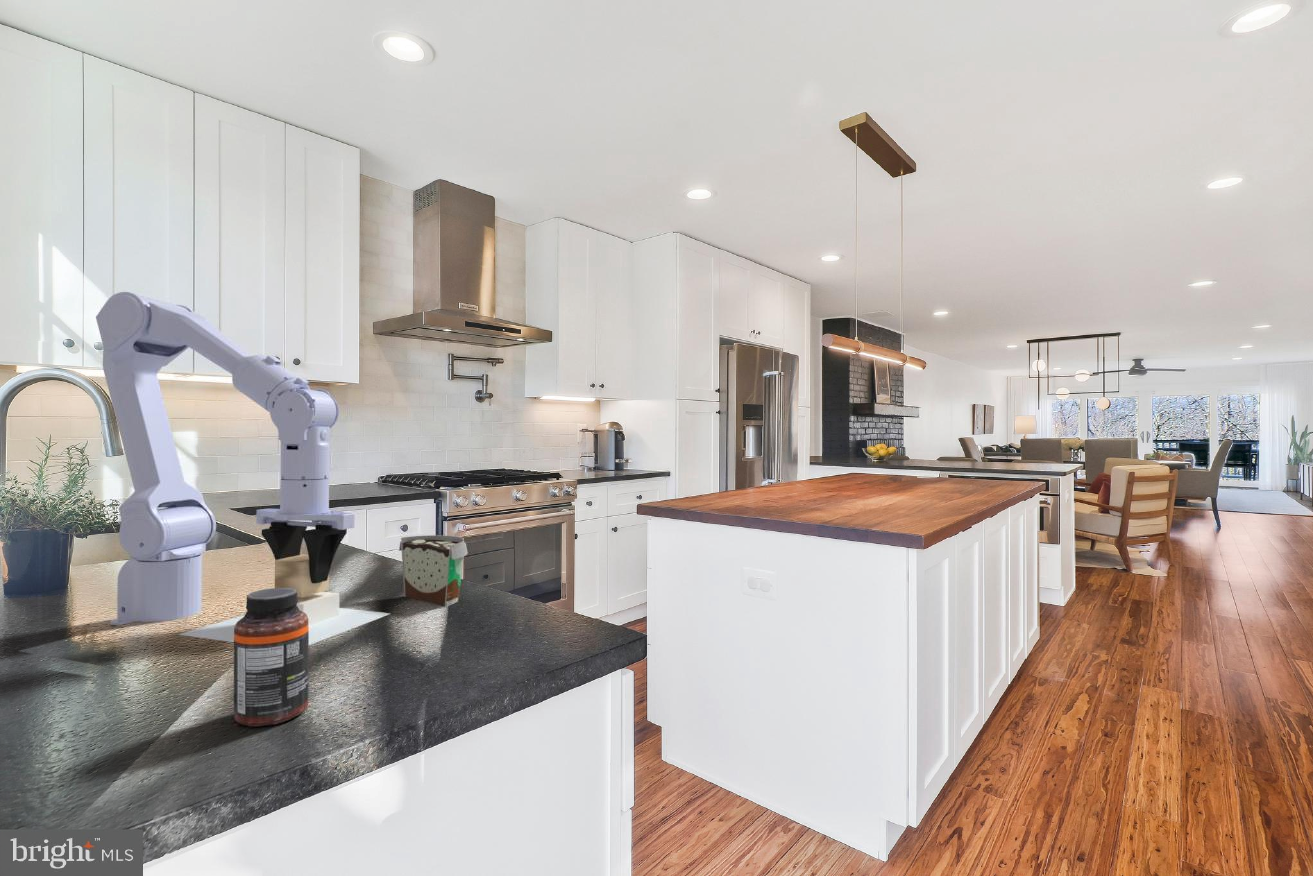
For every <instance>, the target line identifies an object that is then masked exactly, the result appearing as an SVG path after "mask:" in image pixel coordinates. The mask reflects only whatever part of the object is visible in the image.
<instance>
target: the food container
mask: <svg viewBox="0 0 1313 876" xmlns="http://www.w3.org/2000/svg"><path fill="white" fill-rule="evenodd" d="M398 551H401V561H402V564H401V565H402V579H403V581H402V582H403V596H404V598H408V599H413V600H418V601H423V602H426V603H431V604H434V605H439V606H444V607H448V606H452V605H454V604H455V603H458V601H459V600H460V593H461V591H460V590H461V582H462V581H461V580H462V574H463V573H462V570H463V559H464V557H466V556H467V555H468V554H469V552H468V549H467V543H466V542H465V539H464V538H463V537H460V536H454V535H440V534H439V535H437V534H433V535H432V534H431V535H412V536H405V537H401V538H400V541H399V549H398Z"/></svg>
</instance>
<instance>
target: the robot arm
mask: <svg viewBox="0 0 1313 876" xmlns="http://www.w3.org/2000/svg"><path fill="white" fill-rule="evenodd" d="M95 319H96V323H97V327H98V331H99V335H100V339H101V343H102V346H103V348H102V349H103V352H102V369H103V373H104V378H105V382H106V385H107V389H108V392H109V397H110V400H111V404H112V408H113V409H112V410H113V412H114V415H115V418H116V419H115V420H116V423H117V427H118V431H119V435H120V439H121V442H122V446H123V451H124V454H125V457H126V463H127V466H128V470H129V474H130V478H131V481H132V486H133V488H134V492H133V493H132V494H131V495H130V496H129V497H128V498H127V499H126V500H125V501H124V502H122V504H120V506H119V508H118V511H119V515H120V527H119V532H118V533H119V534H118V535H119V537H118V538H119V541H120V545H121V547H122V548H123V550H124V551H125V552H126V554H128V555H129V556H130V559H128V560H127V561H126V562H124V564H123V565H122V566H121V568H120V570H119V571H118V572H119V573H118V575H117V583H116V585H117V586H116V587H117V596H116V597H117V598H116V600H117V602H116V603H117V605H116V606H117V607H116V609H117V610H116V611H117V612H116V616H117V617H116V618H114V619H111V620H109V624H110V625H113V626H120V625H125V624H129V623H133V622H141V623H159V622H169V621H175V620H181V619H184V618H188V617H193V616H195V615H196V616H197V615H198V614H200V613H201V612H202V607H203V606H202V605H203V604H202V602H203V600H202V598H203V597H202V596H203V595H202V592H203V589H202V586H203V584H202V583H203V582H202V581H203V552H206V551H207V549H206V548H207V547H206V546H207V544H209V542H211V540H212V539H213V537H214V536H215V534H216V529H217V523H216V517H215V515H214V514H213V512H212V511H211V509H210V508H209V507H208V506H207V505H206V501H205V500H204V496H203V493H202V492H201V491H199V490H197V489H196V488H195V487H194V486H191V485H190V484H189V483H188V482H187V481H185V478H184V473H183V471H182V467H181V462H180V459H179V455H178V452H177V447H176V444H175V440H174V435H173V432H172V428H171V423H170V421H169V417H168V413H167V409H166V405H165V401H164V398H163V393H162V390H161V386H160V382H159V377H158V373H159V372H160V370H162V368H163V367H166V366H168V365H169V364H170V363H171V362H173V361H174V360H175V359H177V357H179V356H180V355H182V354H183V353H184V352H185V351H186V350H188V349H189V348H190V349H191V350H193V351H195V352H196V353H198V354H199V355H200V356H203V357H204V358H205V359H207V360H209V361H211V363H214V364H215V365H217V367H220V368H221V369H222V370H225V372H228V373H230V374H231V375H232V376H231V377H232V378H231V381H232V385H233V387H234V388H235V389H236V390H238V391H239V392H240V393H242V394H243V395H245V396H246V398H247V397H248V398H249V399H250V400H251V401H253V402H254V403H256V404H257V405H258V406H260V407H261V408H262V409H264V410H266V411H267V412H268V413H269V415H270V419H271V421H272V423H273V424H274V426H275V427H276V429H277V432H278V441H280V480H279V481H280V483H279V484H280V487H279V490H280V493H279V494H280V496H279V497H280V498H279V499H280V500H279V508H264V509H262V508H260V509H256V524H257V525H269V528H268V527H267V528H263V529H261V536H262V537H263V539H264V540H265V542H266V543H267V545H268V547H269V548H270V550H271V552H272V554H273V558H274V561H275V560H279V559H283V558H288V557H293V556H298V555H301V549H302V546H303V545H302V544H303V541H304V542H305V546H306V550H307V555H308V556H309V571H310V579H311V583H320V582H323V581H327V579H328V575H329V576H330V570H331V567H332V564H333V560H334V559H335V555H336V553H337V550H338V548H339V547H340V545H341V543H342V541H343V540H344V538H345V537H346V535H347V532H348V529H354V528H355V513H354V512H353V513H352V512H344V511H337V510H331V509H330V437H331V436H330V434H331V433H330V430H331V429H332V428H333V426H334V425H335V424H336V423H337V421H338V419H339V413H340V411H339V405H338V402H337V401H336V399H335V398H334V397H333V396H332V395H331V394H330V392H329V391H327V390H324V389H317V388H315V389H310V386H309V385H308V384H309V381H308V380H307V379H305V378H304V377H296V376H295V375H294V374H292V373H291V372H290V371H288V370H287V369H285V368H284V367H282V360H281V359H279V358H278V357H276V356H271V355H265V354H264V355H263V354H256V355H254V354H253V355H250V354H249V353H247V352H246V351H245V350H244V349H243V348H241V347H240V346H239V345H237V344H236V343H235V342H234V341H233V340H231V339H230V338H229V337H228V336H226V335H225V334H224V333H223V332H221V331H220V330H218V328H216V327H215V326H214V325H213V324H211V323H210V322H209V321H207V318H206V317H205V316H203V315H201V314H200V313H197V312H195V311H194V310H193V309H191V308H190V307H188V306H186V305H181V304H173V303H171V302H170V303H169V302H165V301H161V300H158V299H154V298H153V299H152V298H149V297H144V296H140V295H138V294H136V293H133V292H129V291H121V292H117V293H114V294H113V295H112V296H110V297H109V298H108V299H107V300H106V302H105V303H104V304H103V306H102V307H101V308H100V310H99V312H98V313H97V315H96V316H95ZM308 527H310V528H311V527H312V529H308Z"/></svg>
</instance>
